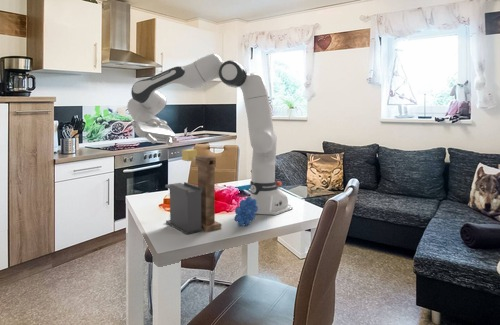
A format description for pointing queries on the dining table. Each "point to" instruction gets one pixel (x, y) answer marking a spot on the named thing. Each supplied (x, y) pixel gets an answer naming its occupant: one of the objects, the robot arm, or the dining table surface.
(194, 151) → the yellow rectangular bar
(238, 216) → the grapes
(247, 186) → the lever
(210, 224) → the stand
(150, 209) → the dining table surface
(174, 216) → the cradle
